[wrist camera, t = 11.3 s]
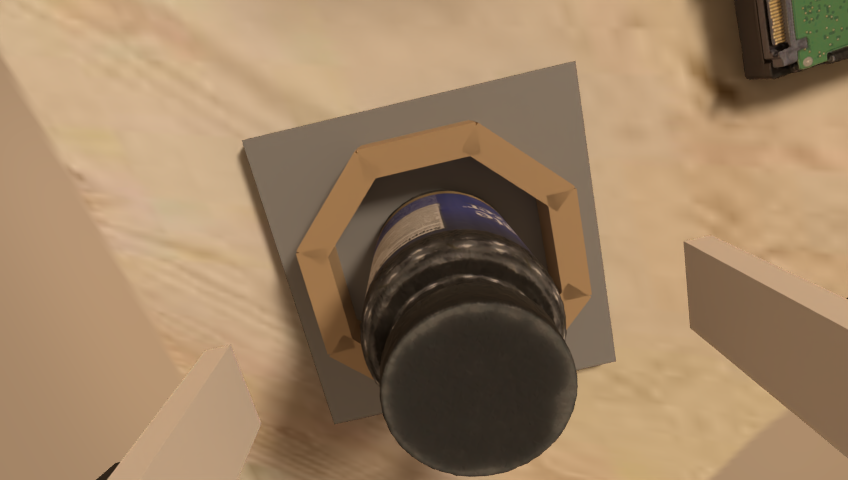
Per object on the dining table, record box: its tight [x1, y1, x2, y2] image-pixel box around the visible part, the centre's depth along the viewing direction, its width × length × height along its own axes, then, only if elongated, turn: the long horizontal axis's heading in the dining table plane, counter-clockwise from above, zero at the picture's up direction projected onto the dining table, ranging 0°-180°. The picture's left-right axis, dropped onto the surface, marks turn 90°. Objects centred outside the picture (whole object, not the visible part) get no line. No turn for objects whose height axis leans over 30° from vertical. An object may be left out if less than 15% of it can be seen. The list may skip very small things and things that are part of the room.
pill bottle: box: [360, 189, 578, 477], centre depth 17 cm, size 6×6×11 cm
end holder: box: [242, 61, 616, 424], centre depth 22 cm, size 14×14×3 cm
